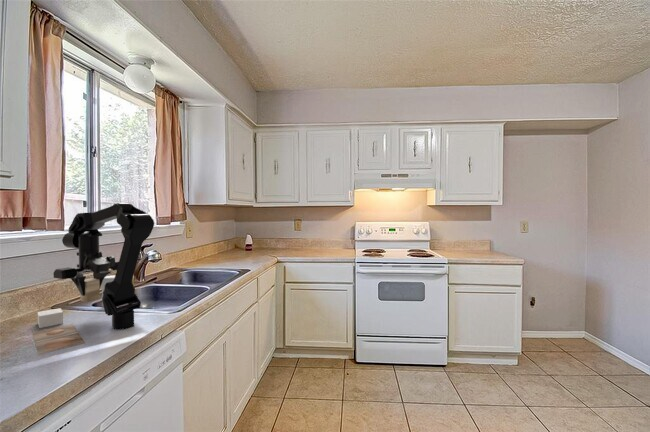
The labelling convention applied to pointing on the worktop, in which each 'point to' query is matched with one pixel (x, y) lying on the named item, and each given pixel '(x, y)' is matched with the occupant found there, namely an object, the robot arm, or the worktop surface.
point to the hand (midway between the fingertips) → (90, 294)
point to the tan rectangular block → (91, 290)
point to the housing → (50, 318)
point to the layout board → (57, 338)
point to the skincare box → (105, 280)
